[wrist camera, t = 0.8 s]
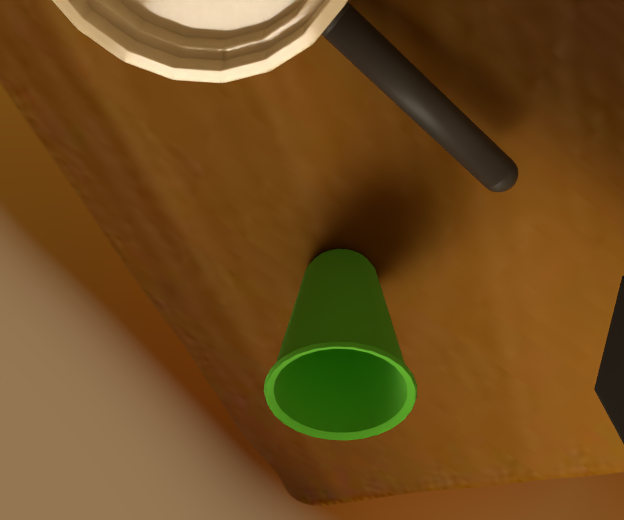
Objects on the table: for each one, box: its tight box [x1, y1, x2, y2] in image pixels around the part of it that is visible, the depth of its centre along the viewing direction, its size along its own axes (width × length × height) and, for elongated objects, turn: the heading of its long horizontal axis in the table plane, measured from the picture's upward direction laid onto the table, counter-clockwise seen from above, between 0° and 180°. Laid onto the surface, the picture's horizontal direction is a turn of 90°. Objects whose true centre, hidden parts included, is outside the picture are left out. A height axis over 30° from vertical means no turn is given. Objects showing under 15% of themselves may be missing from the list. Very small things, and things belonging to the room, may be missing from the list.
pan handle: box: [322, 2, 518, 192], centre depth 31 cm, size 2×14×4 cm, turn 51°
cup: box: [264, 249, 417, 440], centre depth 39 cm, size 9×9×11 cm
